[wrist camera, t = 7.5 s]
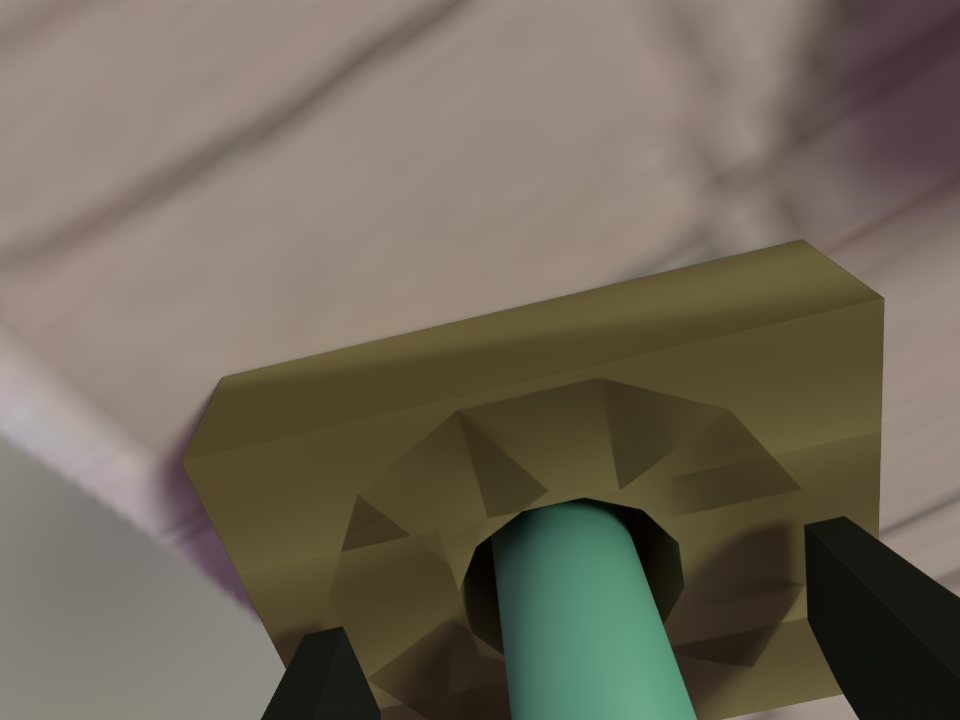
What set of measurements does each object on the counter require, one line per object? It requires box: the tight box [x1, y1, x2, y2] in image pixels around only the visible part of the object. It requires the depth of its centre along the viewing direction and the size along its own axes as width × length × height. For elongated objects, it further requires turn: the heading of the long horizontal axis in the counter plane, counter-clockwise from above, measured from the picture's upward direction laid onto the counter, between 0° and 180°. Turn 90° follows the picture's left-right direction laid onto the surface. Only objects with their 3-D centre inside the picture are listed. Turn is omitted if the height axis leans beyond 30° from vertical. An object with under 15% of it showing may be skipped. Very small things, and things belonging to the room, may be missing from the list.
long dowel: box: [491, 497, 697, 720], centre depth 12 cm, size 2×2×6 cm
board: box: [181, 240, 884, 720], centre depth 14 cm, size 8×10×2 cm
